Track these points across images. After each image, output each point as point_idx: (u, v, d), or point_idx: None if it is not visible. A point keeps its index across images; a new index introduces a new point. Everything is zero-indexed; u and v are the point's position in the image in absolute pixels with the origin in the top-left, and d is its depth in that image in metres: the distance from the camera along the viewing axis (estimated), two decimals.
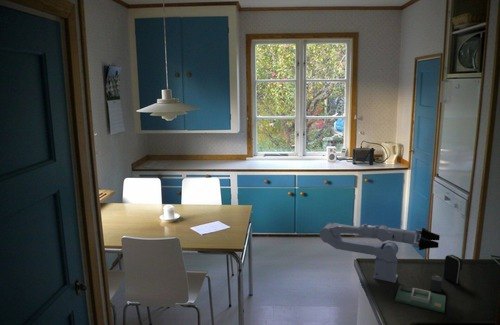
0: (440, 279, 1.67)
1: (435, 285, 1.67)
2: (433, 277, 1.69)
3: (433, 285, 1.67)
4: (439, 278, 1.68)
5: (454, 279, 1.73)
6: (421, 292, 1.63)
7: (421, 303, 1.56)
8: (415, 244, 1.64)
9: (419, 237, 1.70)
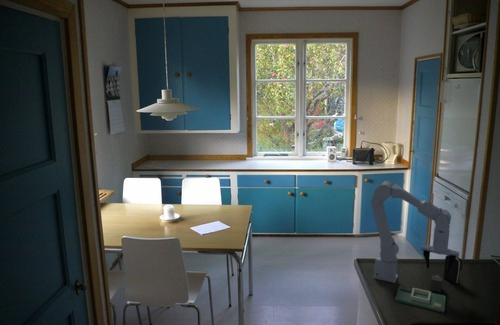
0: (440, 279, 1.67)
1: (435, 285, 1.67)
2: (433, 277, 1.69)
3: (433, 285, 1.67)
4: (439, 278, 1.68)
5: (454, 279, 1.73)
6: (421, 292, 1.63)
7: (421, 303, 1.56)
8: None
9: None
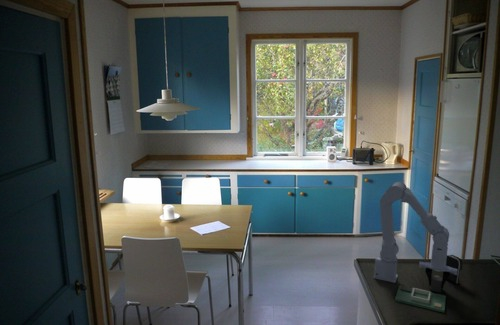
0: (440, 279, 1.67)
1: (435, 285, 1.67)
2: (433, 277, 1.69)
3: (433, 285, 1.67)
4: (439, 278, 1.68)
5: (454, 279, 1.73)
6: (421, 292, 1.63)
7: (421, 303, 1.56)
8: (419, 264, 1.70)
9: None
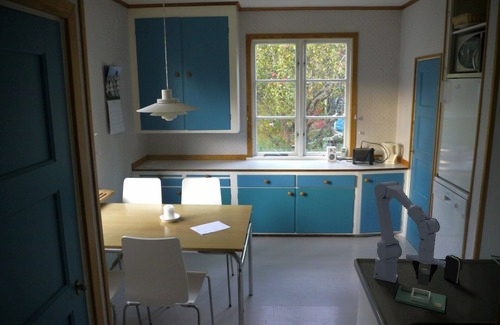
0: (428, 272, 1.58)
1: (423, 279, 1.58)
2: (420, 270, 1.60)
3: (420, 279, 1.59)
4: (427, 271, 1.59)
5: (454, 279, 1.73)
6: (421, 292, 1.63)
7: (421, 303, 1.56)
8: None
9: None
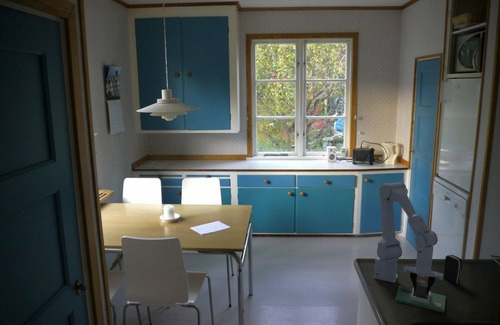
0: (425, 284, 1.59)
1: (420, 291, 1.59)
2: (418, 282, 1.61)
3: (418, 291, 1.59)
4: (424, 283, 1.60)
5: (454, 279, 1.73)
6: None
7: (421, 303, 1.56)
8: None
9: None
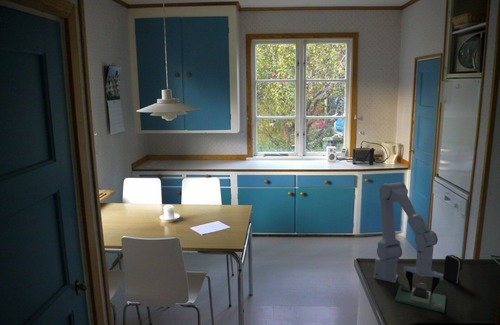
0: (425, 286, 1.59)
1: (420, 293, 1.59)
2: (418, 284, 1.61)
3: (417, 293, 1.59)
4: (424, 285, 1.60)
5: (454, 279, 1.73)
6: None
7: (421, 303, 1.56)
8: None
9: None
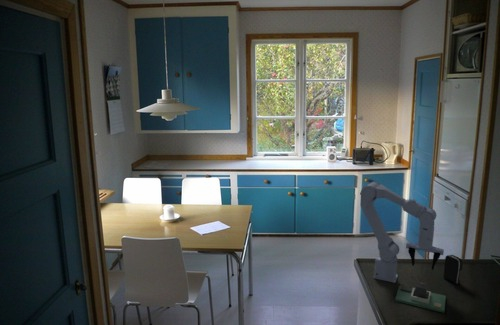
0: (425, 286, 1.59)
1: (420, 293, 1.59)
2: (418, 284, 1.61)
3: (417, 293, 1.59)
4: (424, 285, 1.60)
5: (454, 279, 1.73)
6: None
7: (421, 303, 1.56)
8: (406, 245, 1.71)
9: None
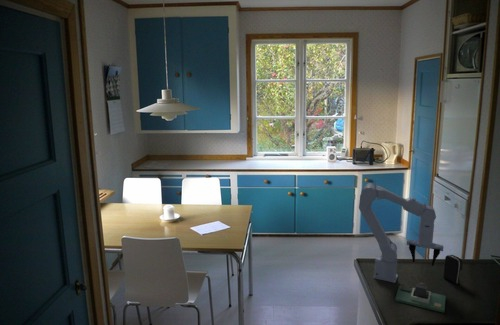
0: (425, 286, 1.59)
1: (420, 293, 1.59)
2: (418, 284, 1.61)
3: (417, 293, 1.59)
4: (424, 285, 1.60)
5: (454, 279, 1.73)
6: None
7: (421, 303, 1.56)
8: None
9: None
